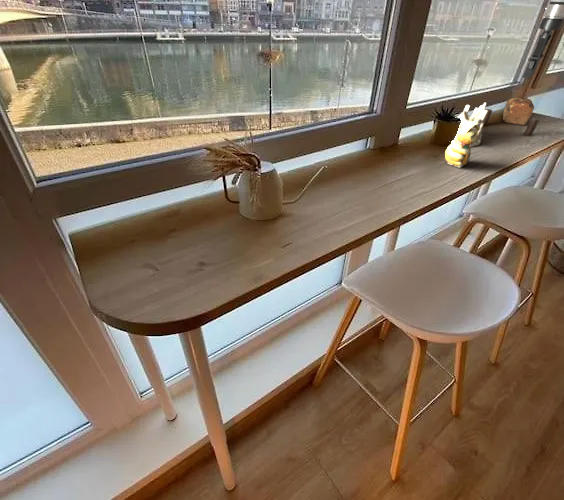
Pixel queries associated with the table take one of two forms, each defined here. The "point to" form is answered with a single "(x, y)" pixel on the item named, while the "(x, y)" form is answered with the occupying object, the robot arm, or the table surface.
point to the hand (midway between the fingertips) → (527, 75)
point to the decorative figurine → (462, 145)
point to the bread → (518, 110)
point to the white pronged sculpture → (476, 116)
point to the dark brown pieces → (528, 131)
